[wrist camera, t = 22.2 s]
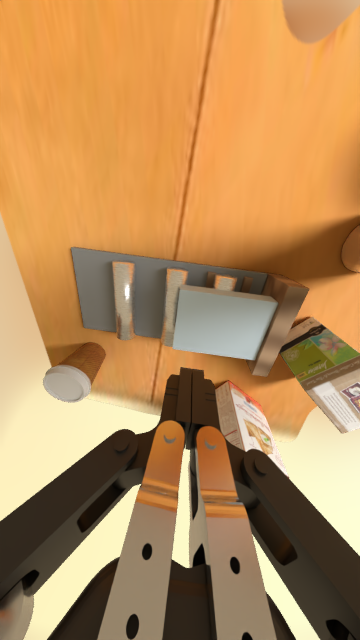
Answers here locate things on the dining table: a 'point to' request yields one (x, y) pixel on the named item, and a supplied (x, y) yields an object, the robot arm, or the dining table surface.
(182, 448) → the robot arm
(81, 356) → the disposable coffee cup
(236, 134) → the dining table surface
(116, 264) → the bed rollers
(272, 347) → the wooden stops
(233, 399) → the cracker box
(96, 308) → the mat
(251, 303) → the slab
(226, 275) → the roller
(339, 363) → the tea box
